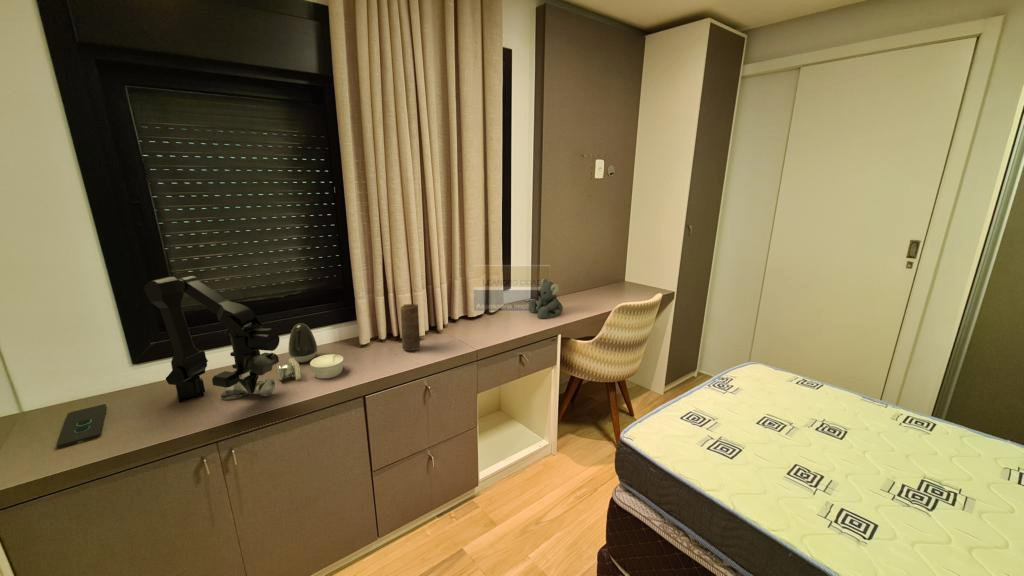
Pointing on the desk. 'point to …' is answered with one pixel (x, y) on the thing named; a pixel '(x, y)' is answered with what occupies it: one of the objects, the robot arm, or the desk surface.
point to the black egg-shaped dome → (302, 343)
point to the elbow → (261, 388)
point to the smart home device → (82, 426)
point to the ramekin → (327, 366)
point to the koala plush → (546, 301)
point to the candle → (410, 327)
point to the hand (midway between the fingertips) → (251, 393)
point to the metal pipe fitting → (282, 371)
